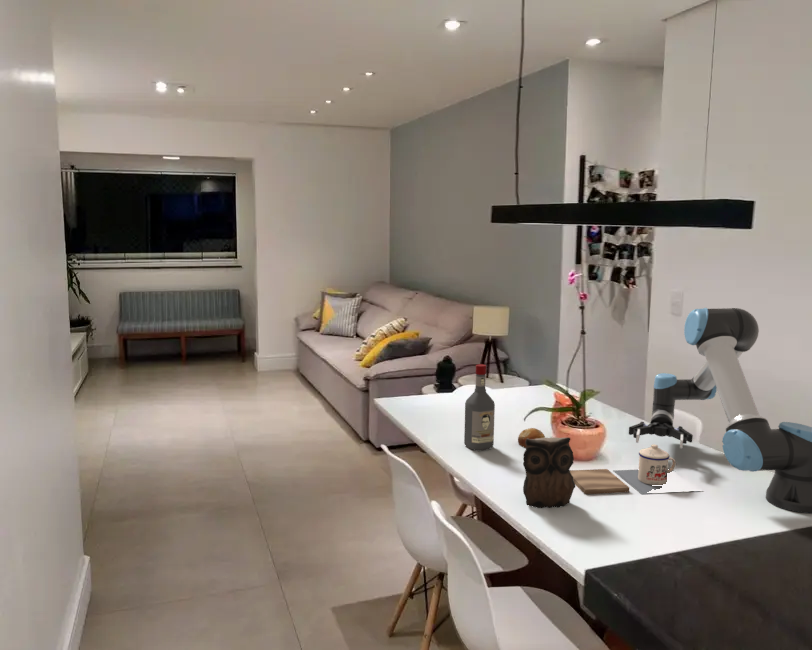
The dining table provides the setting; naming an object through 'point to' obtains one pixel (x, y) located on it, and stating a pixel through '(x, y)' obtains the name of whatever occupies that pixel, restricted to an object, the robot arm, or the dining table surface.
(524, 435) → the bread roll
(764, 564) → the dining table surface
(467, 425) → the liquor
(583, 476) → the walnut board
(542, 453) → the owl
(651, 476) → the teacup with lid
